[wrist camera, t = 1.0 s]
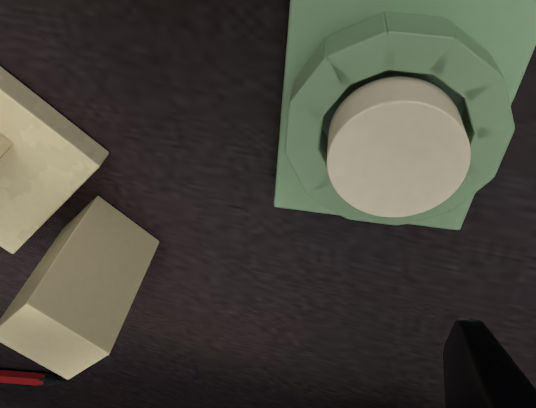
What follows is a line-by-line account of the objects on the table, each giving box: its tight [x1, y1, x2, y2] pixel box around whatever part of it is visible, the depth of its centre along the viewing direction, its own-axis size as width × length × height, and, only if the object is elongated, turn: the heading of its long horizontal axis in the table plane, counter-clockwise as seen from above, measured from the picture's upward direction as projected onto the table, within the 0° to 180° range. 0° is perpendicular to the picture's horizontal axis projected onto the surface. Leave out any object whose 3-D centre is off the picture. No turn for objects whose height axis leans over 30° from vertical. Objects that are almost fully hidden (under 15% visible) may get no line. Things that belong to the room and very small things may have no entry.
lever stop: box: [0, 196, 160, 380], centre depth 23 cm, size 4×4×7 cm
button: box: [326, 76, 471, 218], centre depth 16 cm, size 4×4×2 cm
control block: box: [274, 0, 536, 230], centre depth 18 cm, size 10×8×4 cm
